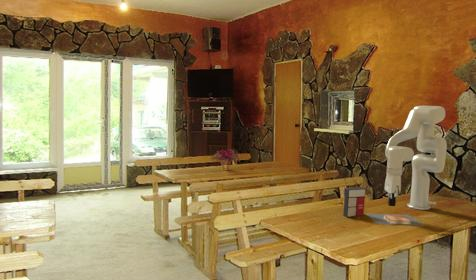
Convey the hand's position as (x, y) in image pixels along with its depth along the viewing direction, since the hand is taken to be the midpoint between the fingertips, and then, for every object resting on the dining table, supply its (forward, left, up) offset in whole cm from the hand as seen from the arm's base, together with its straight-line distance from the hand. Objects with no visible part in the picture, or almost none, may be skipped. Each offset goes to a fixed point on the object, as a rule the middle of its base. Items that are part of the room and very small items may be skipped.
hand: (391, 205), depth 219 cm
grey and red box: (+19, -2, -7) cm, 21 cm away
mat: (0, +4, -7) cm, 8 cm away
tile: (0, +4, -5) cm, 6 cm away
